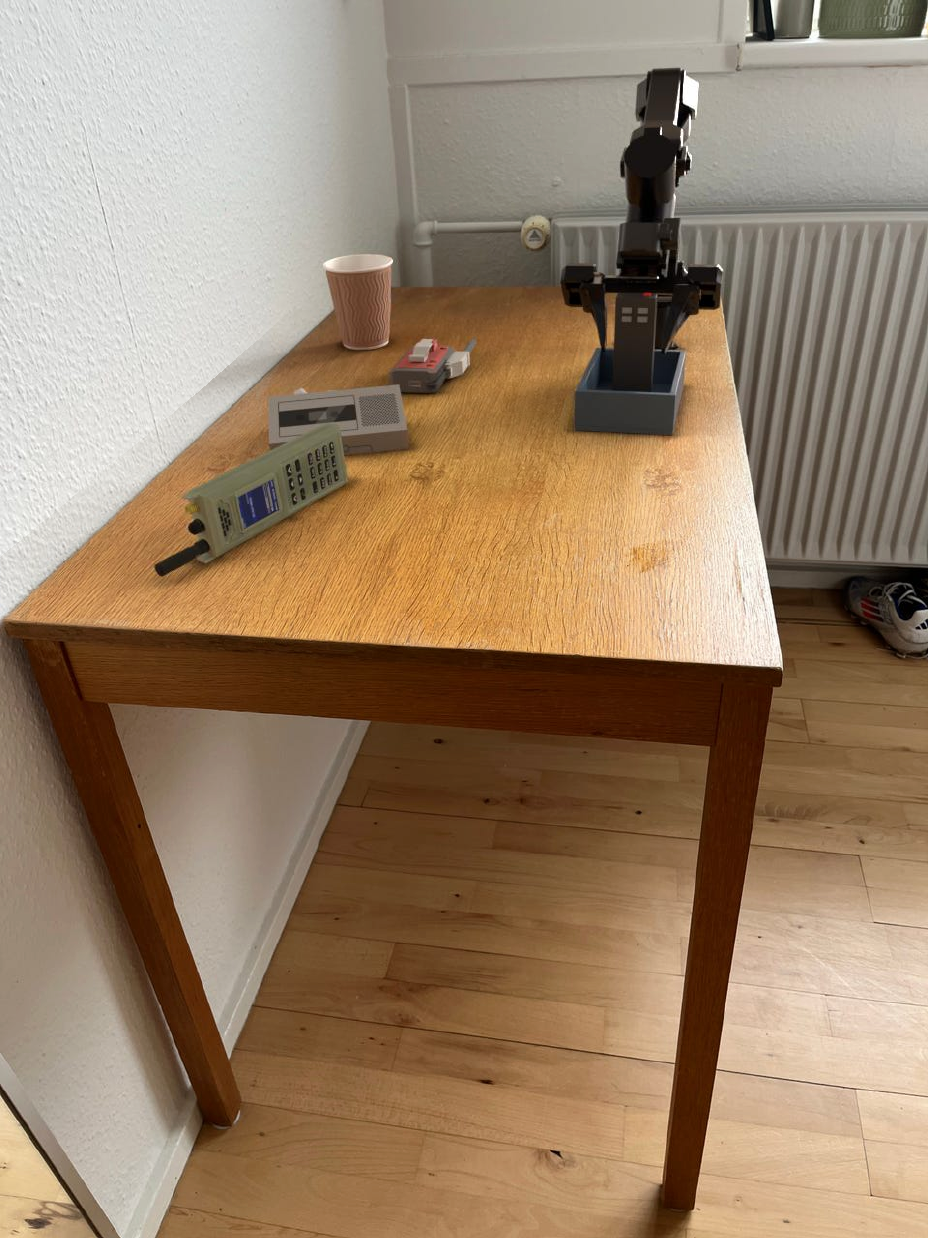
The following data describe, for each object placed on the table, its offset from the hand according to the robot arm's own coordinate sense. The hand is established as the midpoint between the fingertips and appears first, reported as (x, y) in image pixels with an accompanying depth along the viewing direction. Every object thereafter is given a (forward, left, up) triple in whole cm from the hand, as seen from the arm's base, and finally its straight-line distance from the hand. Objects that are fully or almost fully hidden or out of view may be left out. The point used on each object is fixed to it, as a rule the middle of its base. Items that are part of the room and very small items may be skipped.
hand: (632, 351), depth 112 cm
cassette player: (+36, -1, -6) cm, 36 cm away
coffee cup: (+23, -43, -8) cm, 50 cm away
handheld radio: (+47, +13, -8) cm, 49 cm away
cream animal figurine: (+35, -14, -8) cm, 38 cm away
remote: (-1, -1, -7) cm, 7 cm away
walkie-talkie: (+17, -25, -8) cm, 32 cm away
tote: (-1, -1, -7) cm, 8 cm away
